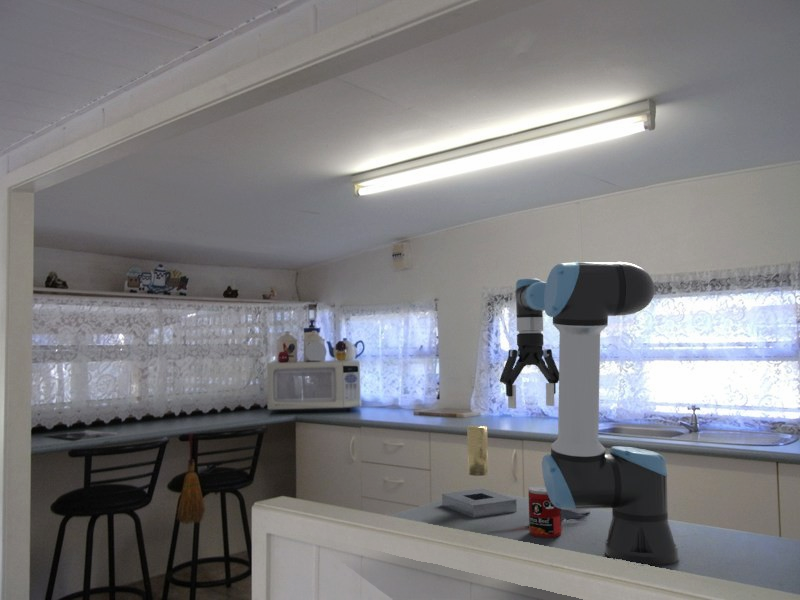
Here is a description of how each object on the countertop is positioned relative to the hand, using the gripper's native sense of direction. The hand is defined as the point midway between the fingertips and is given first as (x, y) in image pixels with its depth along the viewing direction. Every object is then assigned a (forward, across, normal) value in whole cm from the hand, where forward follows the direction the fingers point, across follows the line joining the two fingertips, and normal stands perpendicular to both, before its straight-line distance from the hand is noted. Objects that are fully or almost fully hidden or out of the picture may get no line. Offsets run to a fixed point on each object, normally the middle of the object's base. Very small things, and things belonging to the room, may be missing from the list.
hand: (531, 407), depth 194 cm
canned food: (+29, +13, +21) cm, 38 cm away
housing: (+29, +16, -4) cm, 33 cm away
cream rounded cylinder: (+18, +16, -4) cm, 24 cm away
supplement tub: (+29, -8, +7) cm, 31 cm away
